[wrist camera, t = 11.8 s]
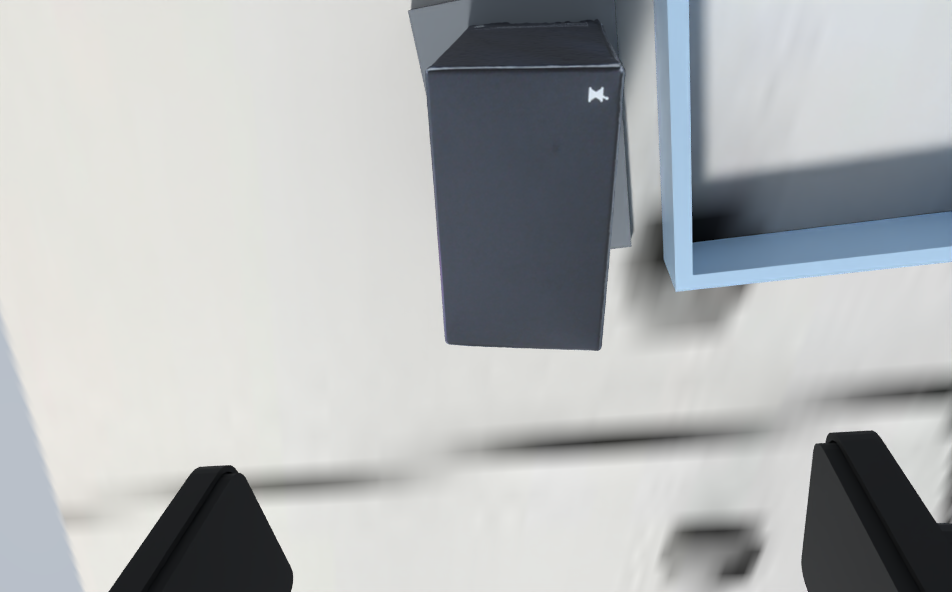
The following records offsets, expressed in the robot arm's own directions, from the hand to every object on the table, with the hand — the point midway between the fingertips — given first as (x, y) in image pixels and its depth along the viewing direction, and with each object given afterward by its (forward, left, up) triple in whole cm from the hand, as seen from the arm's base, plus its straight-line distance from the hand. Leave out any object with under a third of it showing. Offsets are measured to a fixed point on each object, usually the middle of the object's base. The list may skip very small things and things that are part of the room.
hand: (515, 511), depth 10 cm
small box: (0, 0, -23) cm, 23 cm away
